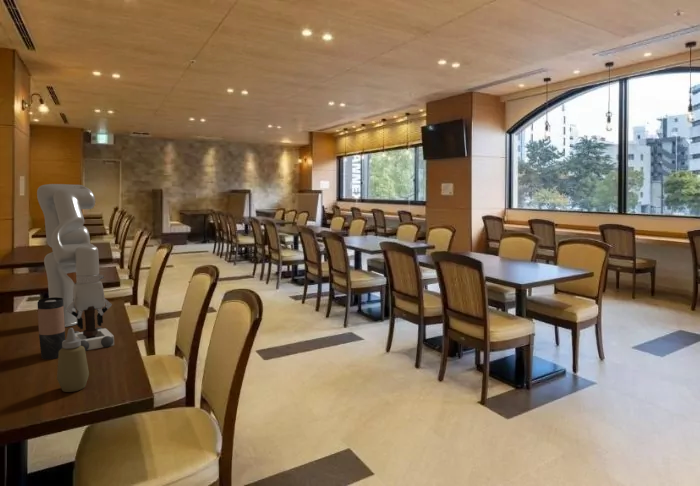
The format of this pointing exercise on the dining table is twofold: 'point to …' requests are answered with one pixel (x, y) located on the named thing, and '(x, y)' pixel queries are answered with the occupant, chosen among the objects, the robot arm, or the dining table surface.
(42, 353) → the travel mug
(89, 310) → the bolt
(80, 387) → the squeeze bottle
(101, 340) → the chassis
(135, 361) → the dining table surface
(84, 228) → the robot arm
